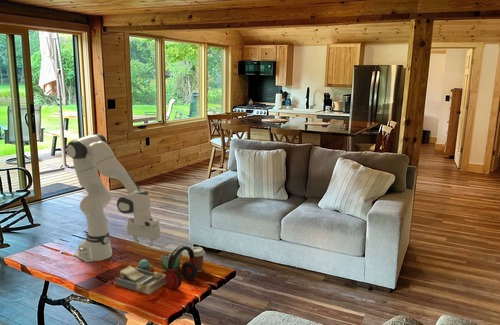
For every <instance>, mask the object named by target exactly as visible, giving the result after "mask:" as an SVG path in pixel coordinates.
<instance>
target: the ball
mask: <svg viewBox="0 0 500 325" xmlns="http://www.w3.org/2000/svg"><path fill="white" fill-rule="evenodd" d="M148 265H150V264H149V261H148V260H147V259H141V260H140V261H139V263H138V266H140V268H142V269H145V268H147V267H148Z"/></svg>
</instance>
